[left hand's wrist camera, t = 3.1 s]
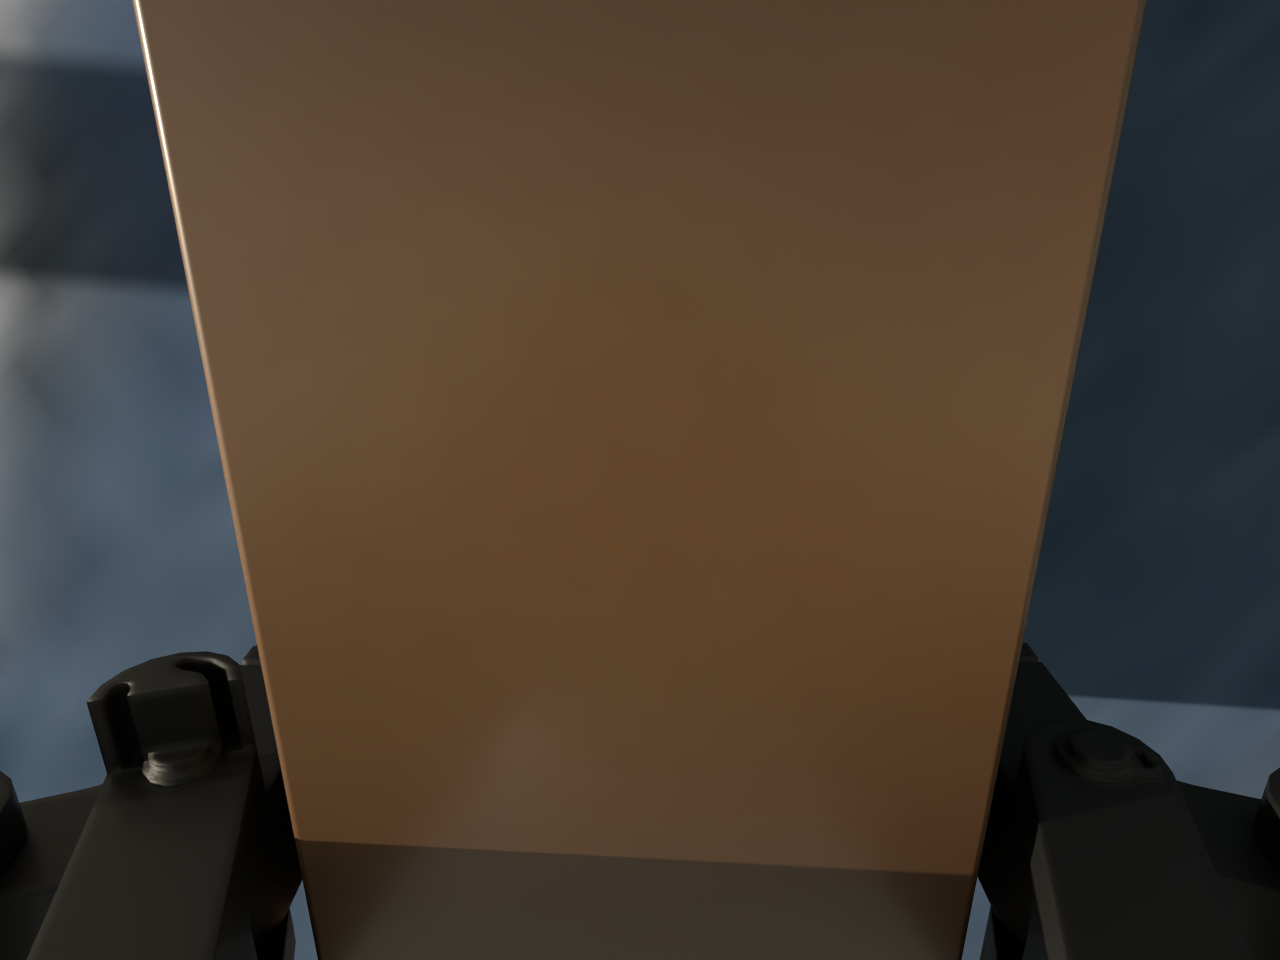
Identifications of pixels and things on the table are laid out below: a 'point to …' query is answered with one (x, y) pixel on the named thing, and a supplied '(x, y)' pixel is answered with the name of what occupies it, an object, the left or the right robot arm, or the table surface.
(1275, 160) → the table surface
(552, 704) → the bar
